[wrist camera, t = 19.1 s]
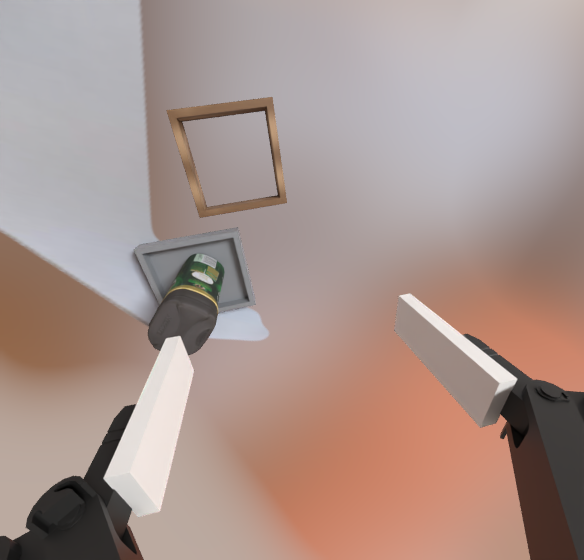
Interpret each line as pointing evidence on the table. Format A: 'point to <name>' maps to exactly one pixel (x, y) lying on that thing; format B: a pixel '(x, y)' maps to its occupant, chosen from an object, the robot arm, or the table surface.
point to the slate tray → (219, 245)
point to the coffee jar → (189, 304)
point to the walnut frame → (176, 122)
